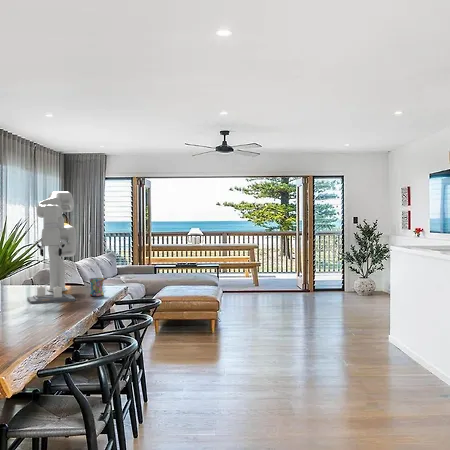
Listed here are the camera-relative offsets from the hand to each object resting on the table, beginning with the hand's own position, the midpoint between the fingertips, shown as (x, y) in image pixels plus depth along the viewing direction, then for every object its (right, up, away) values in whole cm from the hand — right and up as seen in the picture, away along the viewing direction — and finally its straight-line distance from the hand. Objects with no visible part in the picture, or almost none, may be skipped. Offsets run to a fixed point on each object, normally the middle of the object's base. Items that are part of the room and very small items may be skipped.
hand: (51, 256), depth 299 cm
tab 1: (-6, -24, +2) cm, 25 cm away
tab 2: (+4, -24, -2) cm, 24 cm away
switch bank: (0, -26, +1) cm, 26 cm away
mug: (+22, -26, +16) cm, 38 cm away
